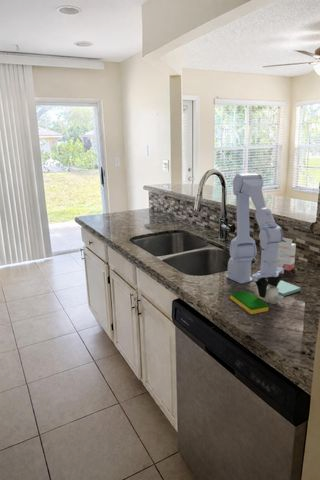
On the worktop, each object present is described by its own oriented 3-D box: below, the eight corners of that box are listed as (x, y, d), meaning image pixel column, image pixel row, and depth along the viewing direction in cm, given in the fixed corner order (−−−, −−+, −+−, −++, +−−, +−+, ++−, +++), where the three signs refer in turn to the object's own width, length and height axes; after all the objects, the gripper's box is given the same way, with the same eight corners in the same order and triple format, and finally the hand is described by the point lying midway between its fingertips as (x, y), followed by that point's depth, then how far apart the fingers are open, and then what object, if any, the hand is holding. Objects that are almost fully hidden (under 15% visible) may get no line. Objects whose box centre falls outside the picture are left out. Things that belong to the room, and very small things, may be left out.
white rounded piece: (253, 295, 130) (254, 283, 129) (260, 293, 132) (261, 281, 131) (276, 306, 121) (277, 293, 120) (284, 304, 123) (285, 291, 122)
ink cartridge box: (294, 268, 158) (297, 237, 154) (289, 271, 155) (292, 239, 151) (276, 264, 164) (278, 234, 160) (271, 267, 160) (274, 236, 157)
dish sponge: (246, 296, 131) (246, 290, 131) (268, 311, 119) (269, 305, 118) (229, 299, 129) (229, 293, 128) (251, 315, 116) (251, 308, 116)
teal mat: (258, 286, 139) (258, 283, 139) (275, 280, 144) (275, 278, 144) (282, 296, 129) (283, 293, 129) (300, 290, 134) (300, 287, 134)
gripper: (263, 267, 117) (261, 303, 120) (292, 259, 124) (288, 294, 128) (248, 261, 123) (246, 296, 126) (276, 254, 130) (273, 288, 133)
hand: (266, 295), depth 127 cm, fingers open, 4 cm apart
